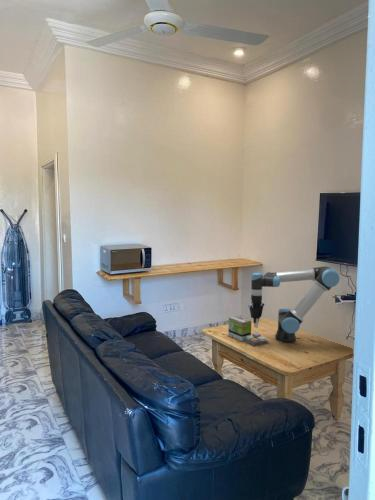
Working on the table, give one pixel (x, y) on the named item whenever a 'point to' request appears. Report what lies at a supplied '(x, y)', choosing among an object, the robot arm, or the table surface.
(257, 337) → the ivory key
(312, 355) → the table surface
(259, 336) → the slate key
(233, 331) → the tea box
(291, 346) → the table surface
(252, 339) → the rust key
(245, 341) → the keypad board
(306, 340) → the table surface
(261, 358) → the table surface
